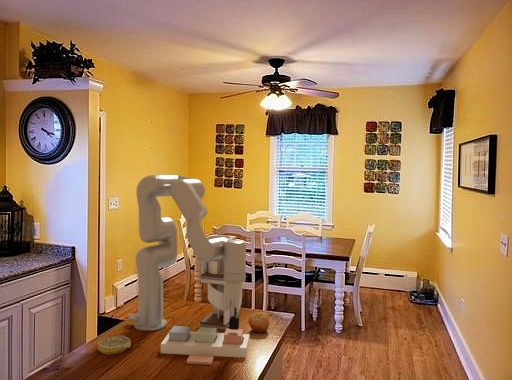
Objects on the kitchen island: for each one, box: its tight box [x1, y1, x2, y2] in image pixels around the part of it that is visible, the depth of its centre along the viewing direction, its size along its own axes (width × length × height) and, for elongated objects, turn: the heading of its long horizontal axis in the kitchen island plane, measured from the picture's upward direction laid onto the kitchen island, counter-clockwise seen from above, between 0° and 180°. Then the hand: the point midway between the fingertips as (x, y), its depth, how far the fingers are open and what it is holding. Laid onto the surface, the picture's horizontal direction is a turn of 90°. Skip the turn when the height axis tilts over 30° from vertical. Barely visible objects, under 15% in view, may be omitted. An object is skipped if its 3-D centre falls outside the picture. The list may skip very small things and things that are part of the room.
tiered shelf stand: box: [199, 234, 237, 331], centre depth 172 cm, size 11×11×35 cm
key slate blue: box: [168, 325, 191, 342], centre depth 150 cm, size 6×6×3 cm
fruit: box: [247, 311, 270, 333], centre depth 166 cm, size 8×8×8 cm
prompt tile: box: [186, 354, 215, 366], centre depth 139 cm, size 8×5×1 cm, turn 85°
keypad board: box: [160, 330, 251, 359], centre depth 149 cm, size 29×12×3 cm, turn 85°
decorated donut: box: [97, 335, 132, 356], centre depth 146 cm, size 10×11×4 cm
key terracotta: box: [223, 328, 244, 345], centre depth 148 cm, size 6×6×3 cm
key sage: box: [196, 327, 218, 343], centre depth 149 cm, size 6×6×3 cm
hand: (234, 328), depth 148 cm, fingers closed
